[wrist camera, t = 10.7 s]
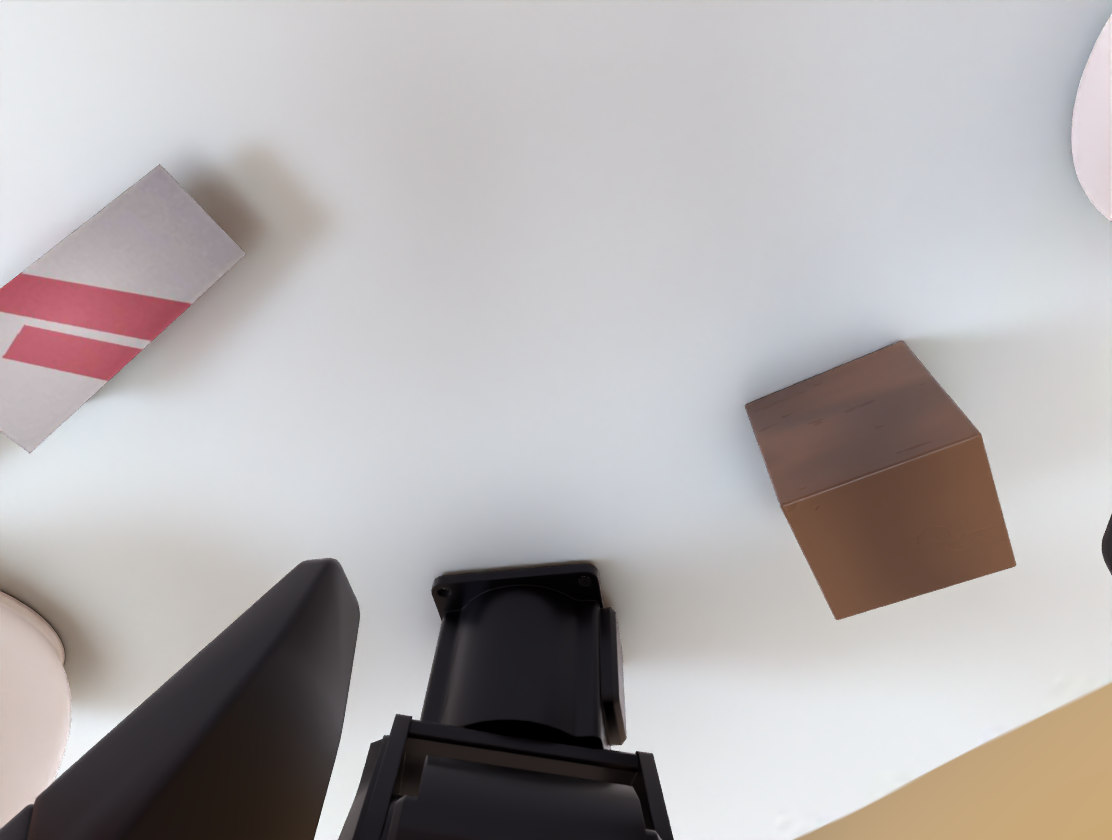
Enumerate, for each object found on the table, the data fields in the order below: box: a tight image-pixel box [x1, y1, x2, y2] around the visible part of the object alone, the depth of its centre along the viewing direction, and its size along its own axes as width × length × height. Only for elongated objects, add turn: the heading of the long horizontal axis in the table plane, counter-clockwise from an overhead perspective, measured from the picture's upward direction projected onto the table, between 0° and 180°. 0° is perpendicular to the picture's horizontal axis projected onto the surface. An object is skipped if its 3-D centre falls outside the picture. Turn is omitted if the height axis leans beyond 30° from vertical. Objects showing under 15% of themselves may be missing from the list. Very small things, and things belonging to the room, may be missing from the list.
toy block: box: [745, 341, 1016, 620], centre depth 21 cm, size 5×5×5 cm
